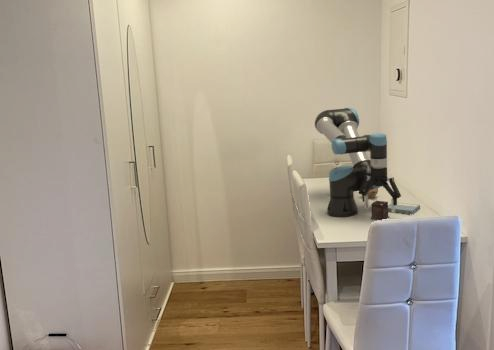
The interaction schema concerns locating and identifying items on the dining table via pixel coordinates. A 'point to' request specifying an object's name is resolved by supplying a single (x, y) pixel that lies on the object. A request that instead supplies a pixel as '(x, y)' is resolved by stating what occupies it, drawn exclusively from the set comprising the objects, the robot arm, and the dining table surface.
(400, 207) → the ticket board
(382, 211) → the box
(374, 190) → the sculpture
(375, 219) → the stub mat
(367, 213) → the dining table surface
